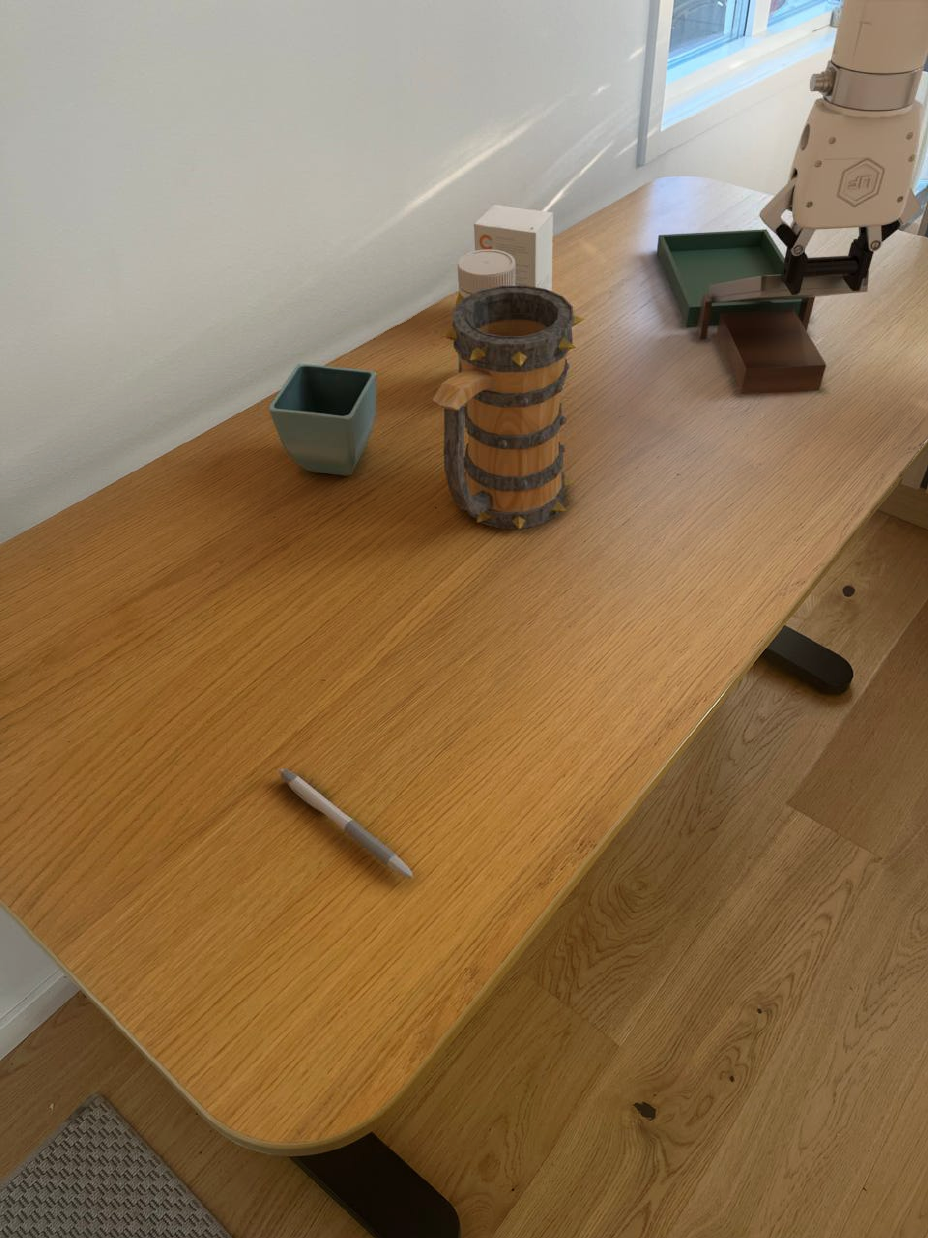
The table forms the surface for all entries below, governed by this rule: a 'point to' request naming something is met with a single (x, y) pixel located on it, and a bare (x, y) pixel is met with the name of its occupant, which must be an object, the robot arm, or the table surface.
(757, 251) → the tray
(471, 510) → the mug
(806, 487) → the table surface
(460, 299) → the bottle
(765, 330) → the stand
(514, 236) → the small box
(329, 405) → the flower pot
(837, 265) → the grey pull-out drawer
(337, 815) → the pen
